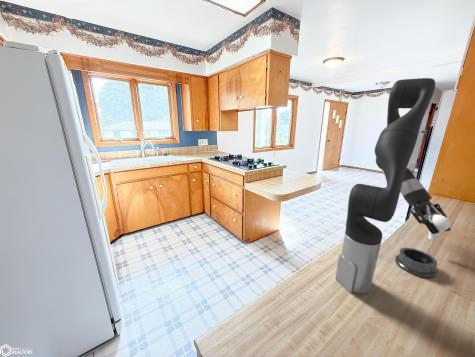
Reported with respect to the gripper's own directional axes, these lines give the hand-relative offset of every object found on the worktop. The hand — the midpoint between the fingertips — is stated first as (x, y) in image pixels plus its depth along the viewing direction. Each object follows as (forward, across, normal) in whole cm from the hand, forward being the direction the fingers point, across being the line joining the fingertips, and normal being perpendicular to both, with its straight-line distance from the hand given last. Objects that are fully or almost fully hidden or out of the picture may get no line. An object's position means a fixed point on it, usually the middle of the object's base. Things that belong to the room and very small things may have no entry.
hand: (441, 232), depth 70 cm
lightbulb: (+2, 0, +5) cm, 5 cm away
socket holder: (+9, -13, +7) cm, 17 cm away
